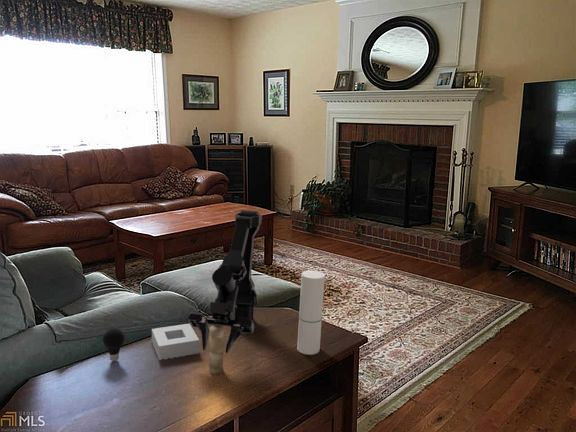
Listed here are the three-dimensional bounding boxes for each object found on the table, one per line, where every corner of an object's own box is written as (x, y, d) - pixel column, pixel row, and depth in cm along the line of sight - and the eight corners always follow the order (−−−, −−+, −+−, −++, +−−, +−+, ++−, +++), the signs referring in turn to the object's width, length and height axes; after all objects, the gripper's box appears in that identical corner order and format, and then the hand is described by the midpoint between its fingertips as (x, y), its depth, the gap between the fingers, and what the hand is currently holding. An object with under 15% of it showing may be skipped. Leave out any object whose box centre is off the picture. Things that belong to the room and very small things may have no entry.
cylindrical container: (319, 344, 155) (325, 271, 149) (319, 355, 148) (324, 279, 142) (298, 342, 155) (302, 269, 150) (296, 353, 148) (300, 277, 143)
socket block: (189, 336, 156) (189, 323, 155) (199, 353, 145) (199, 339, 144) (151, 342, 151) (151, 329, 150) (159, 360, 140) (158, 346, 139)
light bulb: (99, 362, 137) (97, 330, 135) (115, 354, 142) (114, 323, 140) (113, 368, 135) (112, 335, 133) (129, 359, 140) (128, 328, 138)
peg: (220, 365, 139) (221, 324, 136) (224, 372, 136) (225, 330, 133) (207, 368, 137) (207, 326, 135) (211, 375, 134) (212, 332, 131)
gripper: (189, 285, 136) (175, 338, 128) (253, 291, 134) (243, 346, 126) (198, 300, 146) (185, 351, 137) (257, 307, 144) (249, 358, 135)
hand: (215, 351), depth 134 cm, fingers open, 6 cm apart
